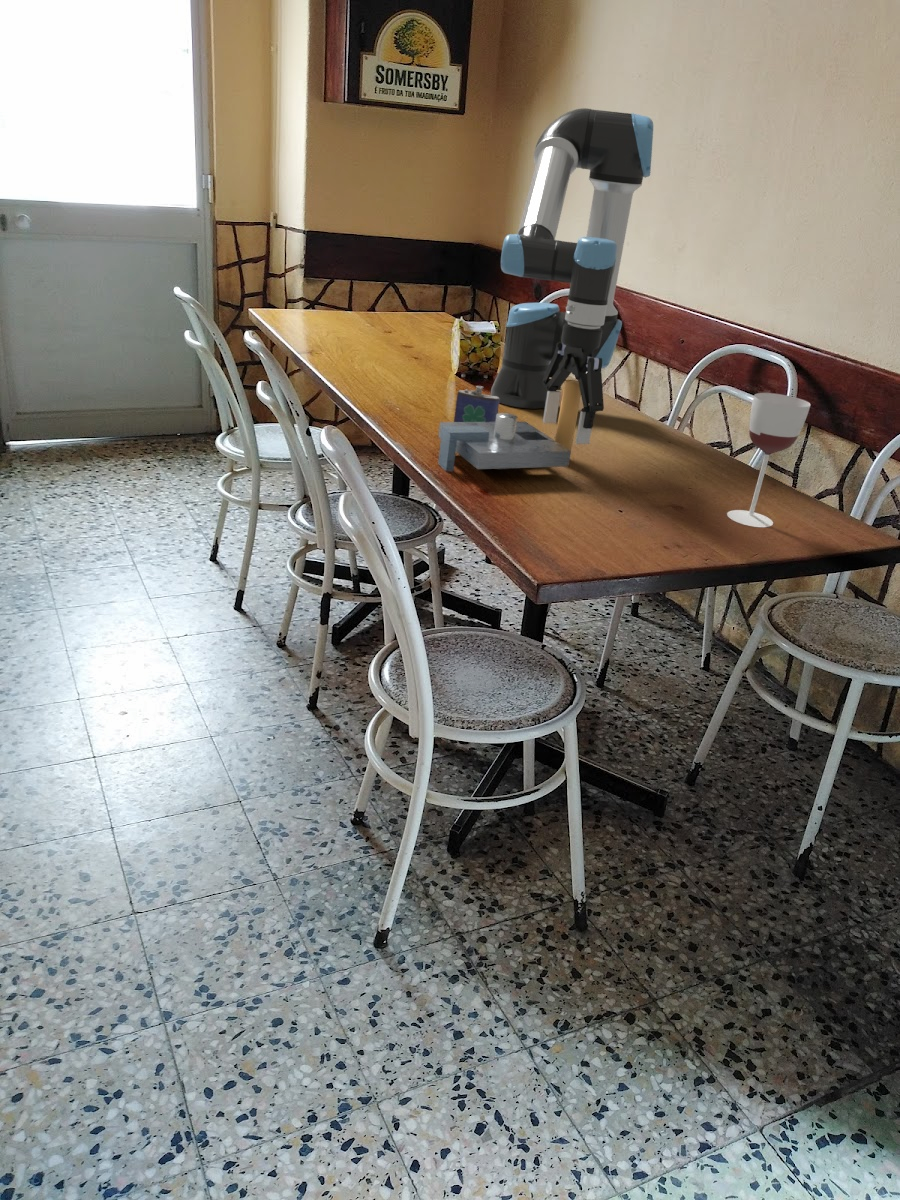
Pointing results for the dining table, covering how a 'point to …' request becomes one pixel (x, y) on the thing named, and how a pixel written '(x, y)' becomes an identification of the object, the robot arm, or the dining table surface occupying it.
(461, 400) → the flask
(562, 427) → the light orange cylinder
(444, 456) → the grey plate
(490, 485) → the dining table surface
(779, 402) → the wineglass
